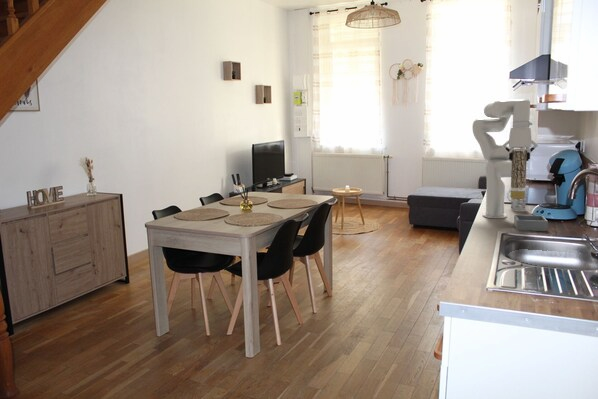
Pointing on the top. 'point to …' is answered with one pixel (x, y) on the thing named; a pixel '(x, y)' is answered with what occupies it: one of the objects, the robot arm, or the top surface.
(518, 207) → the french press
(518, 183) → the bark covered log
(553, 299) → the top surface
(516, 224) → the box
